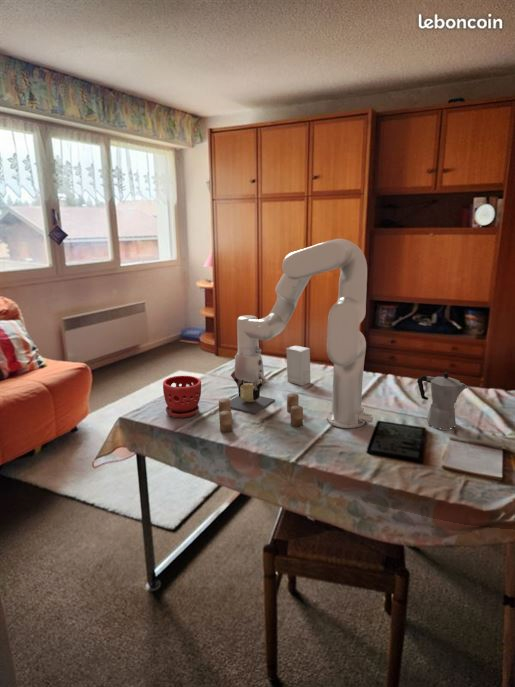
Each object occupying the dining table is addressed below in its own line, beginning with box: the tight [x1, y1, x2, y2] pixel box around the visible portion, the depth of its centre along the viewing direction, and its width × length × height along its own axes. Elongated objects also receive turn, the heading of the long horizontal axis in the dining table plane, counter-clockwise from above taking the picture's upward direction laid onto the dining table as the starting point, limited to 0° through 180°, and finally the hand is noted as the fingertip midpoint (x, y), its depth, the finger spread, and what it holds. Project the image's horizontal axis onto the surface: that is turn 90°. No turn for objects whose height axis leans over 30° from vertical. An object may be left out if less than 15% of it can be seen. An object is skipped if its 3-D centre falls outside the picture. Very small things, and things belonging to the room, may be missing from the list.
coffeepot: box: [416, 372, 468, 429], centre depth 149 cm, size 15×9×18 cm, turn 54°
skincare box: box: [285, 345, 311, 387], centre depth 187 cm, size 8×6×15 cm
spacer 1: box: [218, 398, 232, 419], centre depth 157 cm, size 4×4×6 cm
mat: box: [229, 394, 276, 415], centre depth 168 cm, size 14×14×1 cm
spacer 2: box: [218, 411, 233, 434], centre depth 147 cm, size 4×4×6 cm
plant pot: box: [162, 375, 202, 419], centre depth 160 cm, size 13×13×12 cm
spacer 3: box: [286, 392, 300, 414], centre depth 161 cm, size 4×4×6 cm
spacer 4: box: [290, 405, 304, 428], centre depth 151 cm, size 4×4×6 cm
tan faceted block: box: [240, 382, 255, 402], centre depth 167 cm, size 6×6×5 cm
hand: (249, 396), depth 168 cm, fingers closed on tan faceted block, 5 cm apart
